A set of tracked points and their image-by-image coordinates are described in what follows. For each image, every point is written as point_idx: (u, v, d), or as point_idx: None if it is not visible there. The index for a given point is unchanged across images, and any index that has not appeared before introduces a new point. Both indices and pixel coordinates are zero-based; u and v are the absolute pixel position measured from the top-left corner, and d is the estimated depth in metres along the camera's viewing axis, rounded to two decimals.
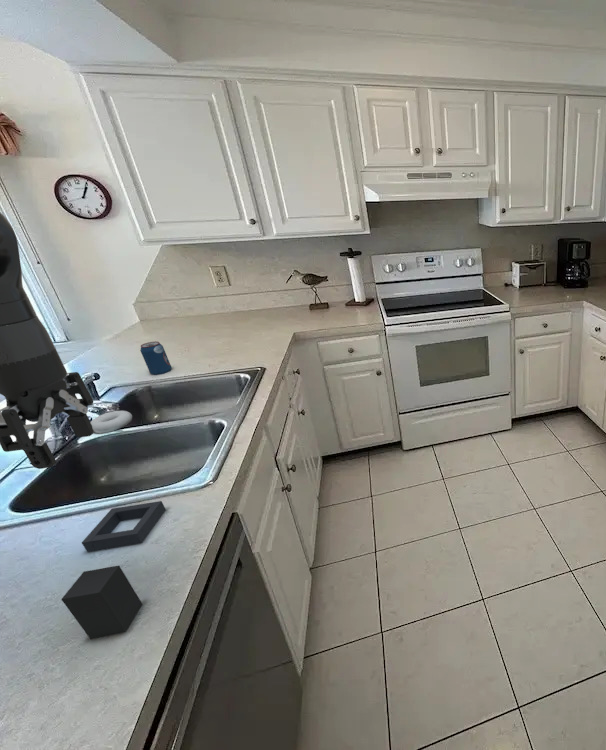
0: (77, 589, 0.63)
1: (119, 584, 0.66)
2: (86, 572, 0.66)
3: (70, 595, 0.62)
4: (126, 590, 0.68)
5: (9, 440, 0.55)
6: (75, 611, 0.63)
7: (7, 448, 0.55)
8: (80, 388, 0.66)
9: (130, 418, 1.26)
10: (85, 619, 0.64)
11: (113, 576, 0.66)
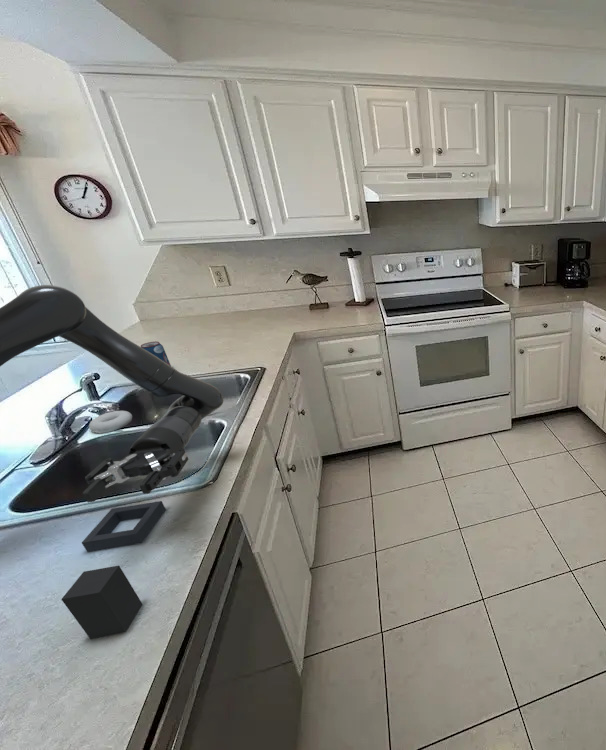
0: (77, 589, 0.63)
1: (119, 584, 0.66)
2: (86, 572, 0.66)
3: (70, 595, 0.62)
4: (126, 590, 0.68)
5: None
6: (75, 611, 0.63)
7: (174, 466, 0.77)
8: (108, 476, 0.77)
9: (130, 418, 1.26)
10: (85, 619, 0.64)
11: (113, 576, 0.66)
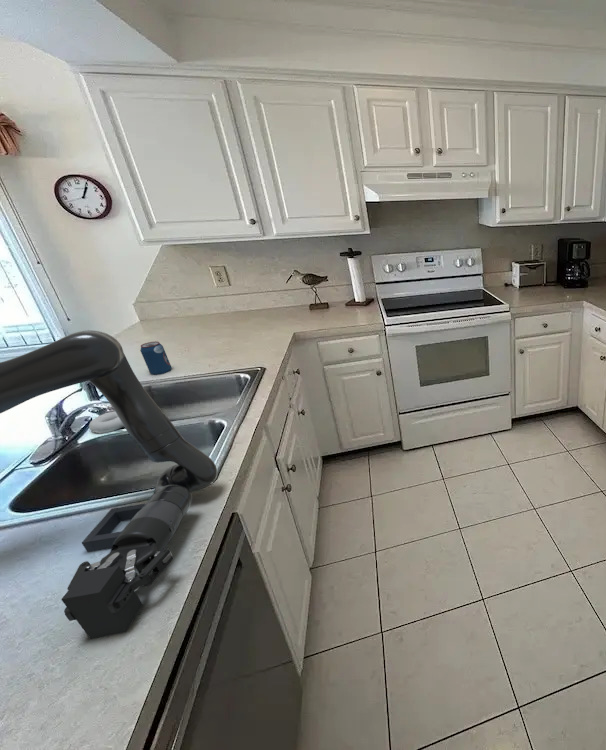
0: (77, 589, 0.63)
1: (118, 584, 0.66)
2: (86, 572, 0.66)
3: (70, 595, 0.62)
4: None
5: None
6: (75, 611, 0.63)
7: (147, 575, 0.69)
8: None
9: None
10: (85, 619, 0.64)
11: (113, 576, 0.66)
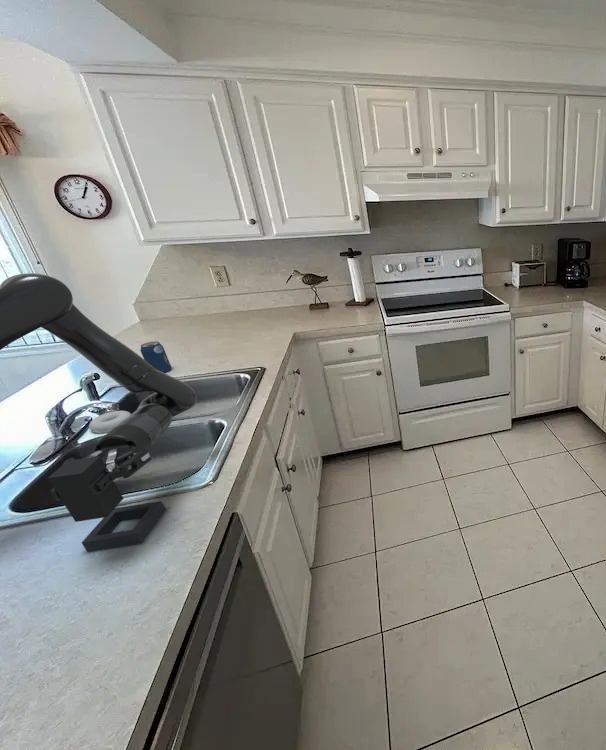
0: (62, 471, 0.71)
1: (99, 472, 0.74)
2: (70, 460, 0.73)
3: (55, 475, 0.70)
4: None
5: None
6: (60, 491, 0.71)
7: (126, 467, 0.76)
8: None
9: None
10: (69, 500, 0.72)
11: (95, 464, 0.73)
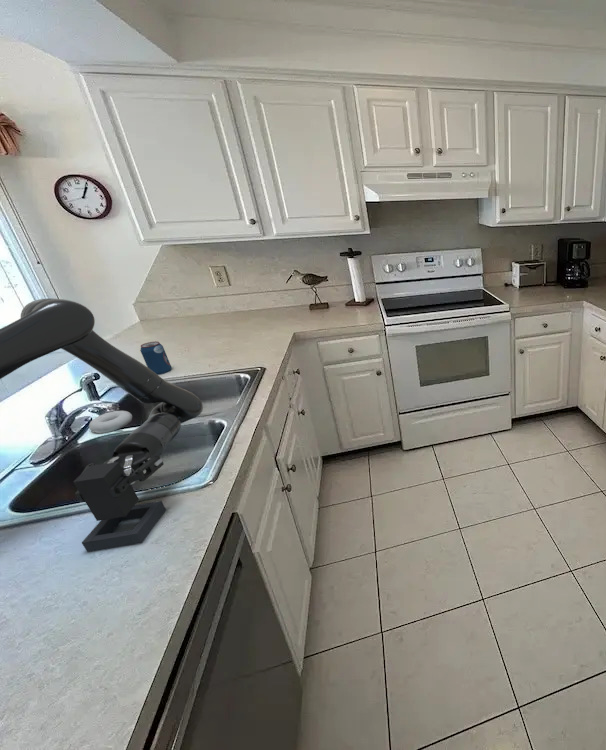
0: (85, 476, 0.79)
1: (118, 476, 0.82)
2: (92, 466, 0.82)
3: (80, 479, 0.78)
4: None
5: None
6: (84, 493, 0.79)
7: (142, 471, 0.84)
8: None
9: (130, 418, 1.26)
10: (92, 501, 0.80)
11: (114, 469, 0.81)
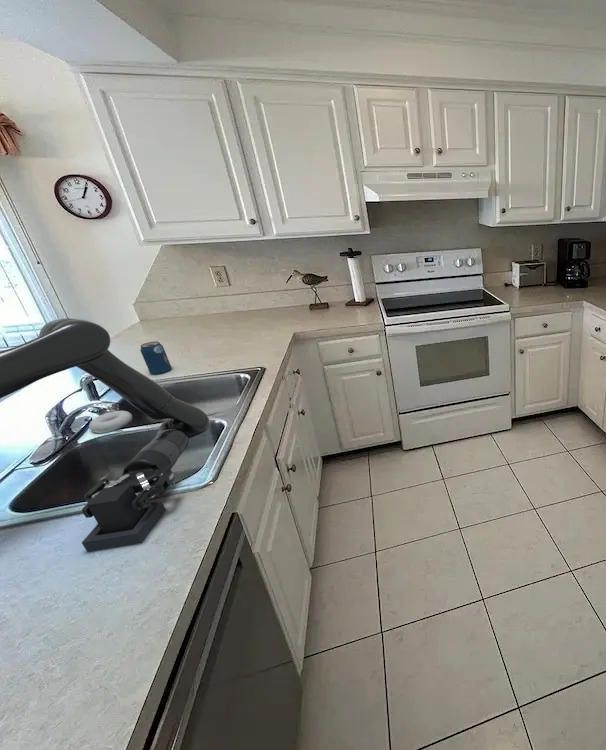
0: (99, 499, 0.81)
1: (130, 498, 0.85)
2: (105, 488, 0.84)
3: (93, 502, 0.80)
4: None
5: None
6: (97, 516, 0.81)
7: (162, 485, 0.88)
8: None
9: (130, 418, 1.26)
10: (105, 523, 0.82)
11: (126, 491, 0.84)
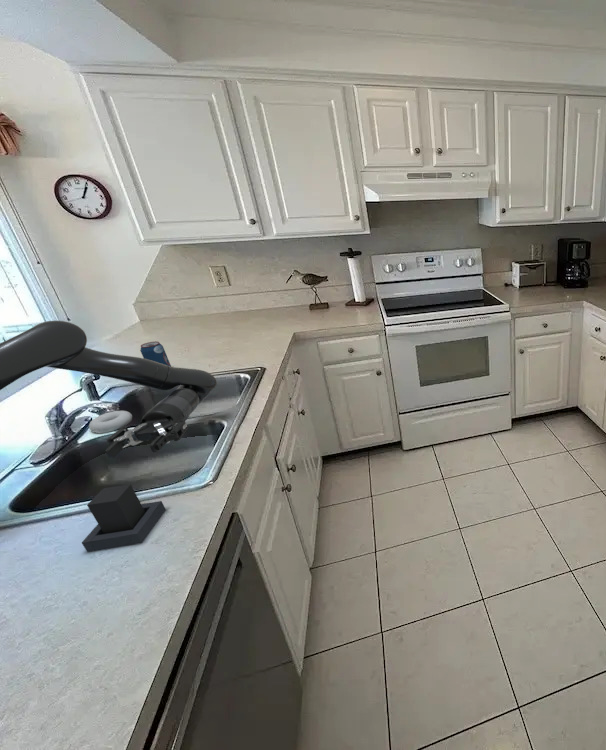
0: (99, 499, 0.81)
1: (130, 498, 0.85)
2: (105, 488, 0.84)
3: (93, 502, 0.80)
4: (136, 505, 0.86)
5: None
6: (97, 516, 0.81)
7: (177, 432, 0.97)
8: (124, 440, 0.97)
9: (130, 418, 1.26)
10: (105, 523, 0.82)
11: (126, 491, 0.84)
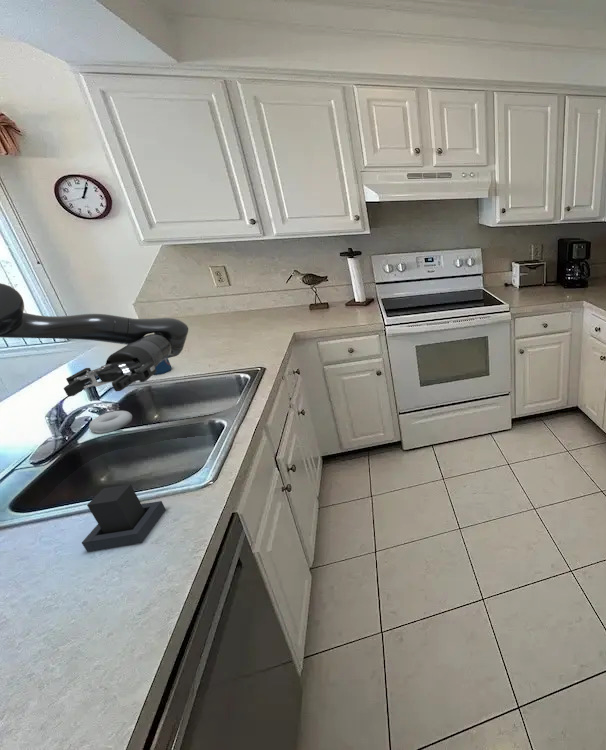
0: (99, 499, 0.81)
1: (130, 498, 0.85)
2: (105, 488, 0.84)
3: (93, 502, 0.80)
4: (136, 505, 0.86)
5: None
6: (97, 516, 0.81)
7: (143, 372, 0.91)
8: (86, 382, 0.91)
9: (130, 418, 1.26)
10: (105, 523, 0.82)
11: (126, 491, 0.84)
